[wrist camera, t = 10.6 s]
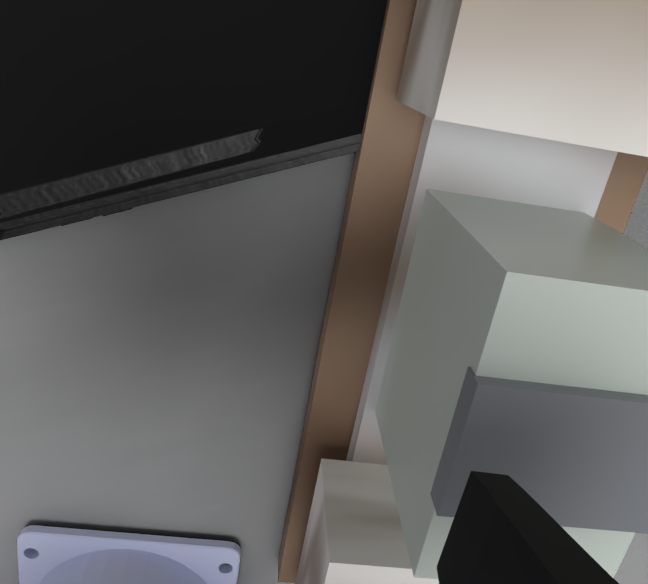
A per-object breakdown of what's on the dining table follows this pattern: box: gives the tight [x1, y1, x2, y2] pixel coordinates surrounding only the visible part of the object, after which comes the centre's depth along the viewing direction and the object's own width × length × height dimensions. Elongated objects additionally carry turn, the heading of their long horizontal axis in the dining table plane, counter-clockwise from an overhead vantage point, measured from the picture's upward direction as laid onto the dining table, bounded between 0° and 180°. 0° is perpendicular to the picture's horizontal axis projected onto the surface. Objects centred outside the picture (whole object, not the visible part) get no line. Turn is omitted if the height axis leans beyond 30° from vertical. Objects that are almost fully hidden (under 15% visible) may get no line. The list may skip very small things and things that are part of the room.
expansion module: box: [375, 189, 648, 579], centre depth 14 cm, size 4×7×6 cm, turn 171°
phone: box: [0, 0, 388, 240], centre depth 15 cm, size 8×1×15 cm
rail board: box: [278, 0, 648, 584], centre depth 15 cm, size 24×8×6 cm, turn 170°
